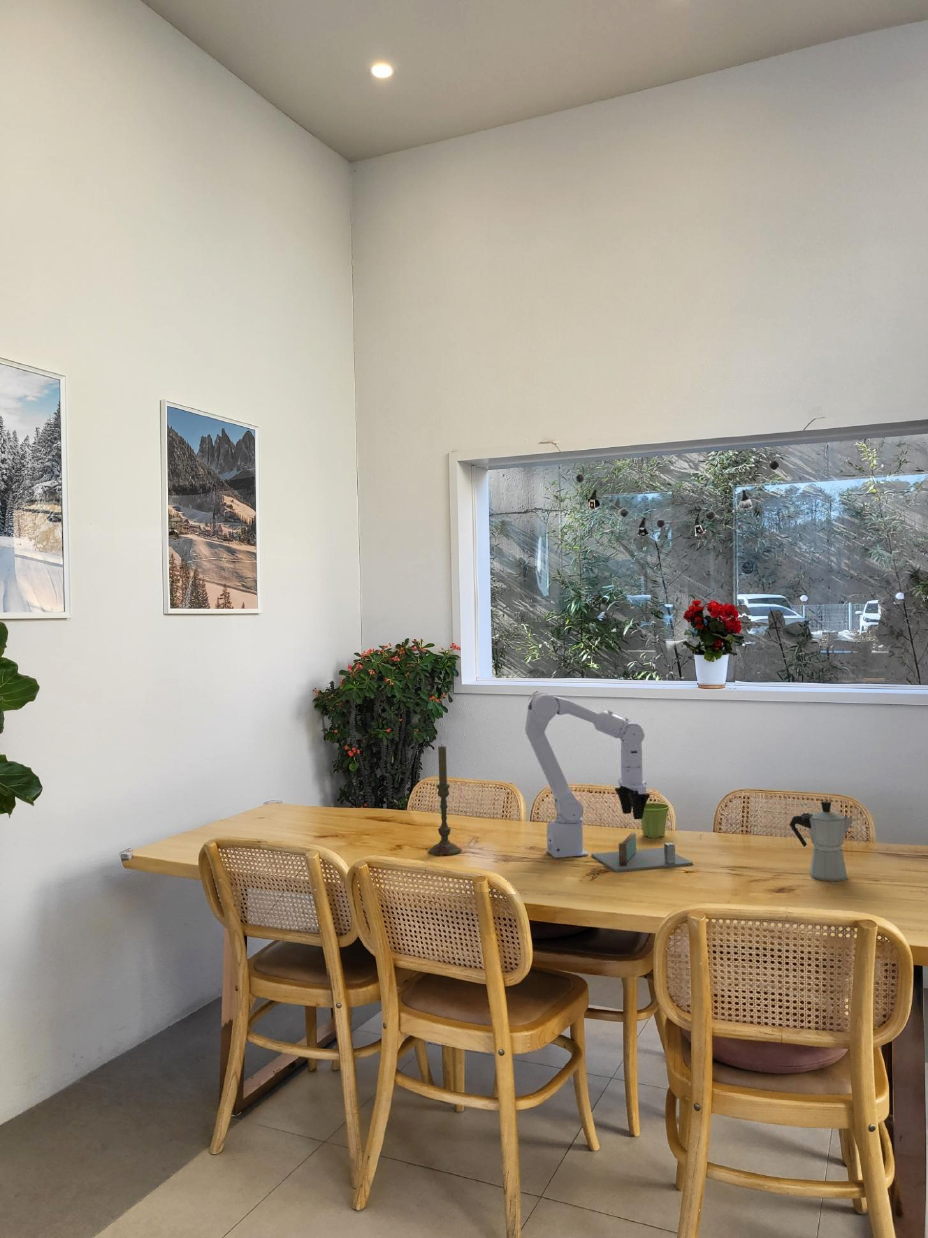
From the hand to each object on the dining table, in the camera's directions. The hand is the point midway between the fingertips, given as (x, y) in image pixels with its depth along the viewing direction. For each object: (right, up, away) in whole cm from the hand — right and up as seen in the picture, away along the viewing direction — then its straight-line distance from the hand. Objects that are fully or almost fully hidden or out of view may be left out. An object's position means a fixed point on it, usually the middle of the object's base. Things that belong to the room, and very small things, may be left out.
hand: (632, 816), depth 255 cm
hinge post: (-5, -9, -17) cm, 20 cm away
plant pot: (+9, -10, +17) cm, 22 cm away
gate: (-3, -8, -10) cm, 14 cm away
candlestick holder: (-51, -11, +4) cm, 53 cm away
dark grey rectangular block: (+7, -9, -16) cm, 20 cm away
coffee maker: (+41, -8, -30) cm, 51 cm away
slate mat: (0, -9, -11) cm, 14 cm away
